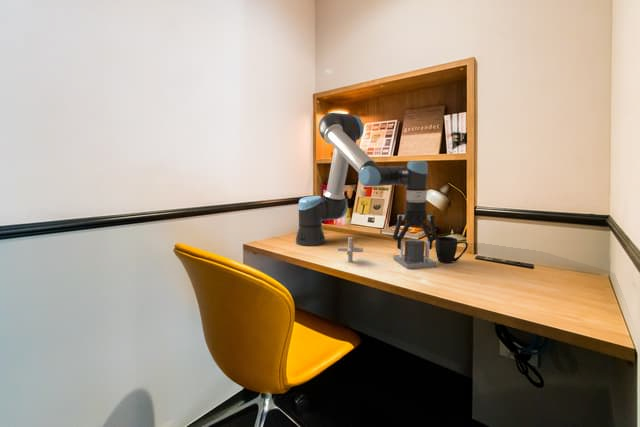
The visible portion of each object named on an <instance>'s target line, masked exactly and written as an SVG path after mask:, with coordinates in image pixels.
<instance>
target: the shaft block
mask: <svg viewBox="0 0 640 427" xmlns="http://www.w3.org/2000/svg"><path fill="white" fill-rule="evenodd" d="M404 255H405V254H403V258H401V257H400V254H395V255H394V254H393V257H392V258H393V261H394V262H395V263H398V264H399V265H401V266H402V267H403V268H405V269H407V270H411V269H412V270H413V269H424V268H436V266H437V261H435V260H433V259H431V258H430V257H429V258H427V257H426V256H425V255H424V259H423V260H421V261H411V260H407V259H405V258H404Z"/></svg>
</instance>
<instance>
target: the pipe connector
mask: <svg viewBox="0 0 640 427" xmlns="http://www.w3.org/2000/svg"><path fill="white" fill-rule="evenodd" d="M347 240H348V241H347V243H348V244H347V246H338V247H337V251H338V252H346V255H347V262H348V263H353V262H354V261H353V260H354V259H353V253H363V252H364V248H363V247H355V246H354V245H353V244H354V243H353V242H354V241H353V240H354V237H351V236H349V237H348V239H347Z"/></svg>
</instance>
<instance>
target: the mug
mask: <svg viewBox="0 0 640 427" xmlns="http://www.w3.org/2000/svg"><path fill="white" fill-rule="evenodd" d="M434 241H435V244H434V245H435V254H436V258H437V262H439V263H440V264H447V265H448V264H449V265H450V264H452V263H455V262H457V261H458V260H460V258H461V257H462V255H464V253H465V252H466V251H467V250H468V247H469V243H468V242H467V241H458V238H455V237H452V236H437V240H434ZM458 244H465V247H464V248H463V251H462V252H461V253H460V254H459V255H458V256H456V253H457V251H458V250H457V249H458Z"/></svg>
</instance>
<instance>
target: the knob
mask: <svg viewBox="0 0 640 427" xmlns="http://www.w3.org/2000/svg"><path fill="white" fill-rule="evenodd" d="M403 255H404V258H405V259H407V260H411V261H421V260H423V259H424V256H425V241H424V240H421V239H417V238H410V239H409V238H408V239H405V242H404V254H403Z"/></svg>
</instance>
